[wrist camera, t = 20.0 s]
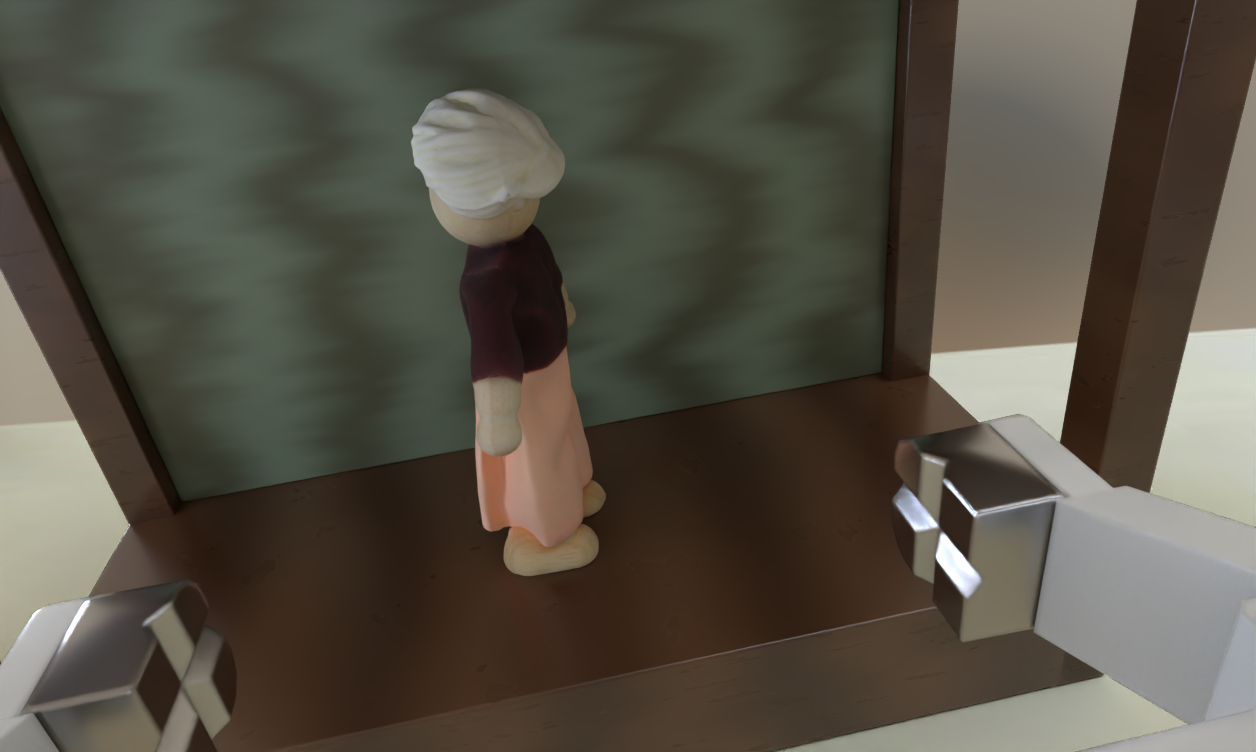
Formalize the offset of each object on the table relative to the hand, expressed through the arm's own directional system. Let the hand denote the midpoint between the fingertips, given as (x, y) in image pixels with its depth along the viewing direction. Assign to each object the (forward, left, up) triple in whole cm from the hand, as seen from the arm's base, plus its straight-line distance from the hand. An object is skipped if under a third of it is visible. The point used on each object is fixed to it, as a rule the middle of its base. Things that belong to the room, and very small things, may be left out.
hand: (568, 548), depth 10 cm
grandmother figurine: (+1, -12, -9) cm, 15 cm away
